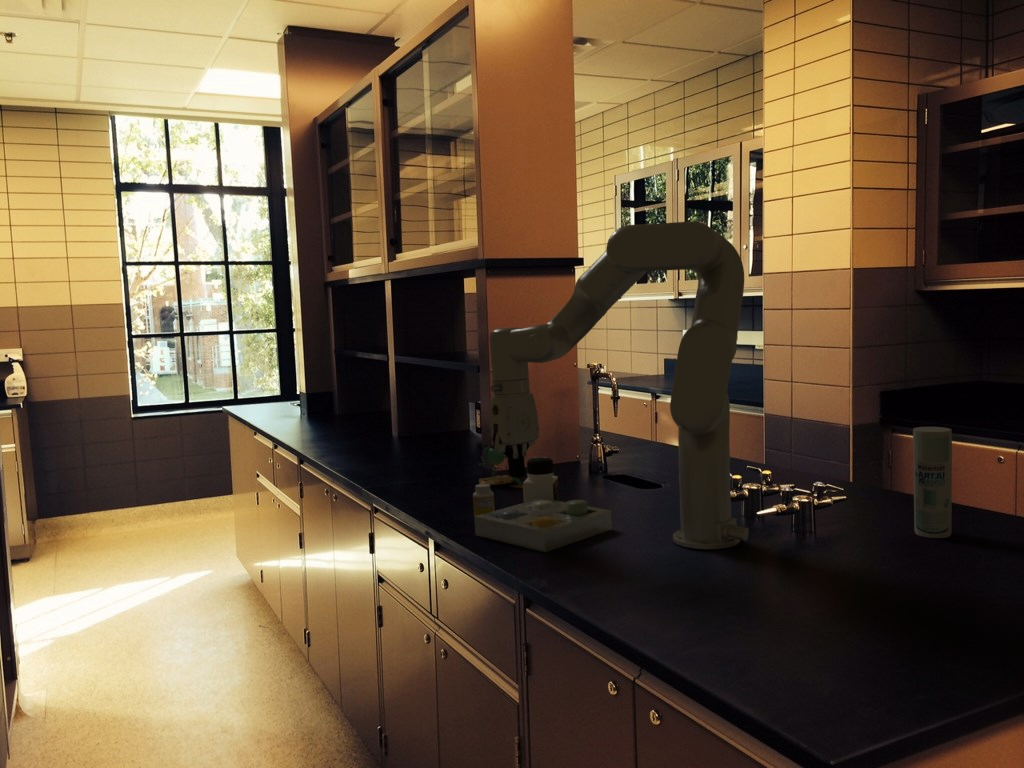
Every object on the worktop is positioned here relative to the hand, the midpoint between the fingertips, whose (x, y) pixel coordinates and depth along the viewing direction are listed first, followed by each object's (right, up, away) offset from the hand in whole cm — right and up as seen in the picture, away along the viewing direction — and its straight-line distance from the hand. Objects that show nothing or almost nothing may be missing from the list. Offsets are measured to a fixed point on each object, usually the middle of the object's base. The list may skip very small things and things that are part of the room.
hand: (517, 476), depth 170 cm
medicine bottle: (+6, -10, +20) cm, 23 cm away
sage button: (+12, -9, 0) cm, 16 cm away
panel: (+6, -12, 0) cm, 13 cm away
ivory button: (+6, -10, +7) cm, 14 cm away
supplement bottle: (-7, -12, +11) cm, 17 cm away
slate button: (-2, -11, 0) cm, 12 cm away
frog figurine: (-5, -8, +50) cm, 51 cm away
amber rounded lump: (+5, -12, -7) cm, 15 cm away
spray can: (+79, -10, -14) cm, 80 cm away
